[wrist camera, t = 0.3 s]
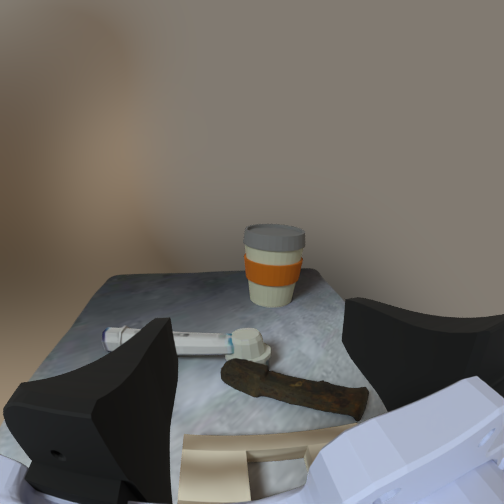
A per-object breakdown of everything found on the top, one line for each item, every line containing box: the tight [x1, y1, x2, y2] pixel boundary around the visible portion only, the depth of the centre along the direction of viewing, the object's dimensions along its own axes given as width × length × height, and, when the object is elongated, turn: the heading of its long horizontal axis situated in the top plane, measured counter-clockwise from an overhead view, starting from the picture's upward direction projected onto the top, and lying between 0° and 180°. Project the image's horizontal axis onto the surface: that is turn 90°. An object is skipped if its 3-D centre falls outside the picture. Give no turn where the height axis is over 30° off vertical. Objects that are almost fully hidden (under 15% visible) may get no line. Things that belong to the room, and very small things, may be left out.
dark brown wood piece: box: [221, 358, 369, 421], centre depth 32 cm, size 19×4×5 cm, turn 66°
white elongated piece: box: [102, 326, 271, 367], centre depth 39 cm, size 5×7×25 cm
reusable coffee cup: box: [243, 224, 305, 307], centre depth 60 cm, size 12×12×15 cm
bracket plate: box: [178, 423, 358, 504], centre depth 20 cm, size 10×18×2 cm, turn 95°
